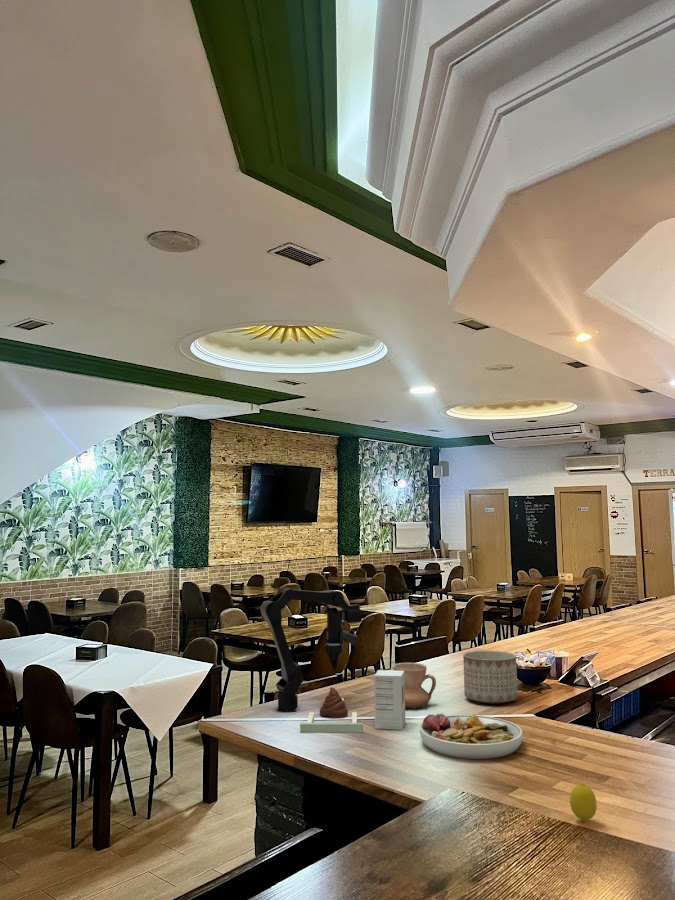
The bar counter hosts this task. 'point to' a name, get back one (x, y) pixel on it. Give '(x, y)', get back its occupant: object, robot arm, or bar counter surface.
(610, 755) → the bar counter surface
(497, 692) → the planter
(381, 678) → the supplement box
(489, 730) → the bowl
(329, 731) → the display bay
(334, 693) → the poop emoji
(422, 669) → the ceramic jug
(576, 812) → the lemon
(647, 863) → the bar counter surface
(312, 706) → the bar counter surface
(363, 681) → the bar counter surface
